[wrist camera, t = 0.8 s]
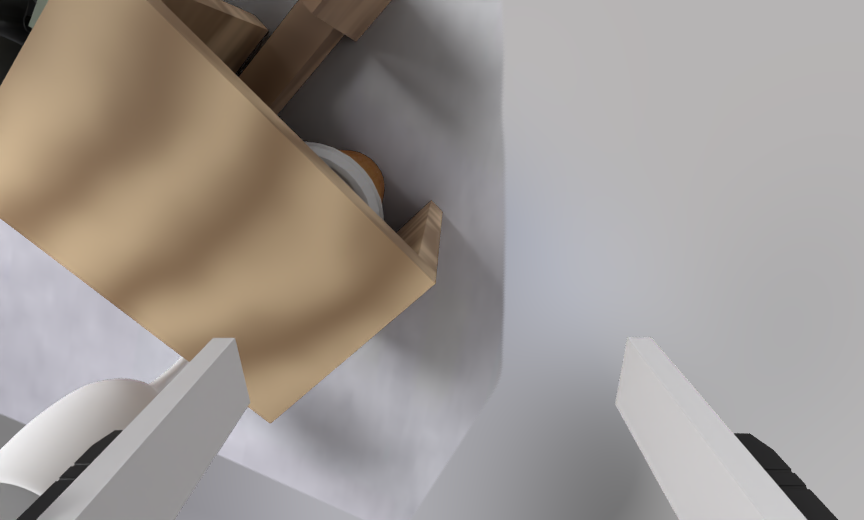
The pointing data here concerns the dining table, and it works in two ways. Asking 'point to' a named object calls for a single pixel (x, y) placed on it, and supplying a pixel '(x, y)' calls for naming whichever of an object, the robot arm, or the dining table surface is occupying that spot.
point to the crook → (305, 45)
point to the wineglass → (69, 435)
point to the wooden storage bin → (197, 193)
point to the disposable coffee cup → (355, 173)
